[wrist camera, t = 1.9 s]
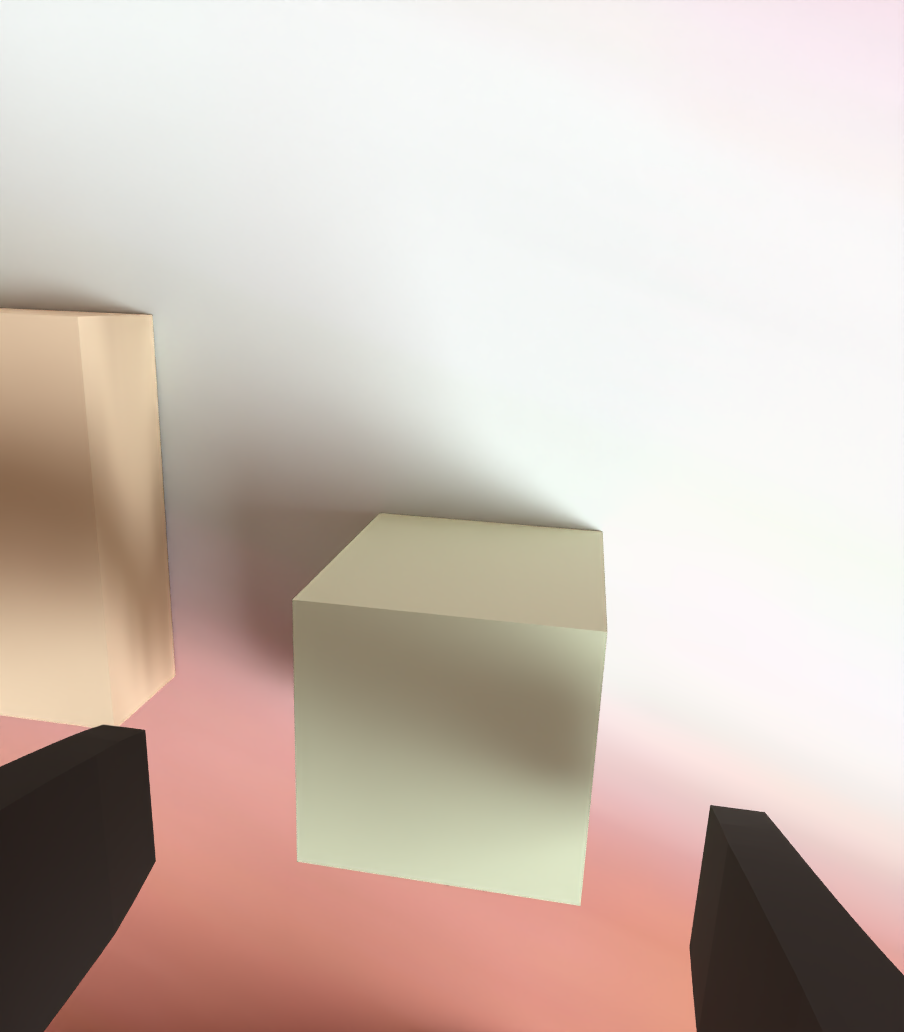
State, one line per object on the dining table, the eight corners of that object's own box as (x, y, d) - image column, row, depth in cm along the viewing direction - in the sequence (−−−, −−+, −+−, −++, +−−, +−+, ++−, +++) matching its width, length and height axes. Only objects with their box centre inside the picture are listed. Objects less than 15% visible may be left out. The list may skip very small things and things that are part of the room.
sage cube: (583, 733, 17) (579, 905, 12) (377, 708, 17) (297, 861, 13) (602, 530, 15) (607, 631, 11) (381, 512, 16) (291, 599, 11)
